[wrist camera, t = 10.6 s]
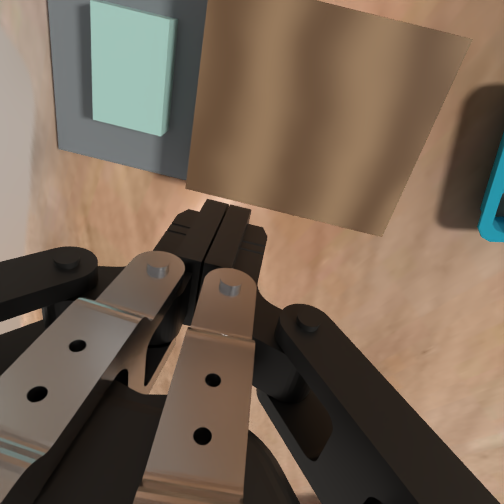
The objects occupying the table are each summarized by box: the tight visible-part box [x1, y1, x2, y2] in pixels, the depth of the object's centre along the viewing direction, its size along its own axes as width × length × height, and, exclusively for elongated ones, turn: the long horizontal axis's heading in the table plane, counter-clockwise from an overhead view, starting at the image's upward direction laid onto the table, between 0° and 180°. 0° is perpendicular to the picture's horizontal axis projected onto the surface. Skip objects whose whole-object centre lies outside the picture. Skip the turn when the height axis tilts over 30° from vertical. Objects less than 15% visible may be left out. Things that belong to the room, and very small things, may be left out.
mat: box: [48, 0, 208, 180], centre depth 30 cm, size 12×16×1 cm
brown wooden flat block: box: [185, 0, 473, 237], centre depth 28 cm, size 16×14×4 cm
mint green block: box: [90, 0, 178, 136], centre depth 29 cm, size 6×8×2 cm
